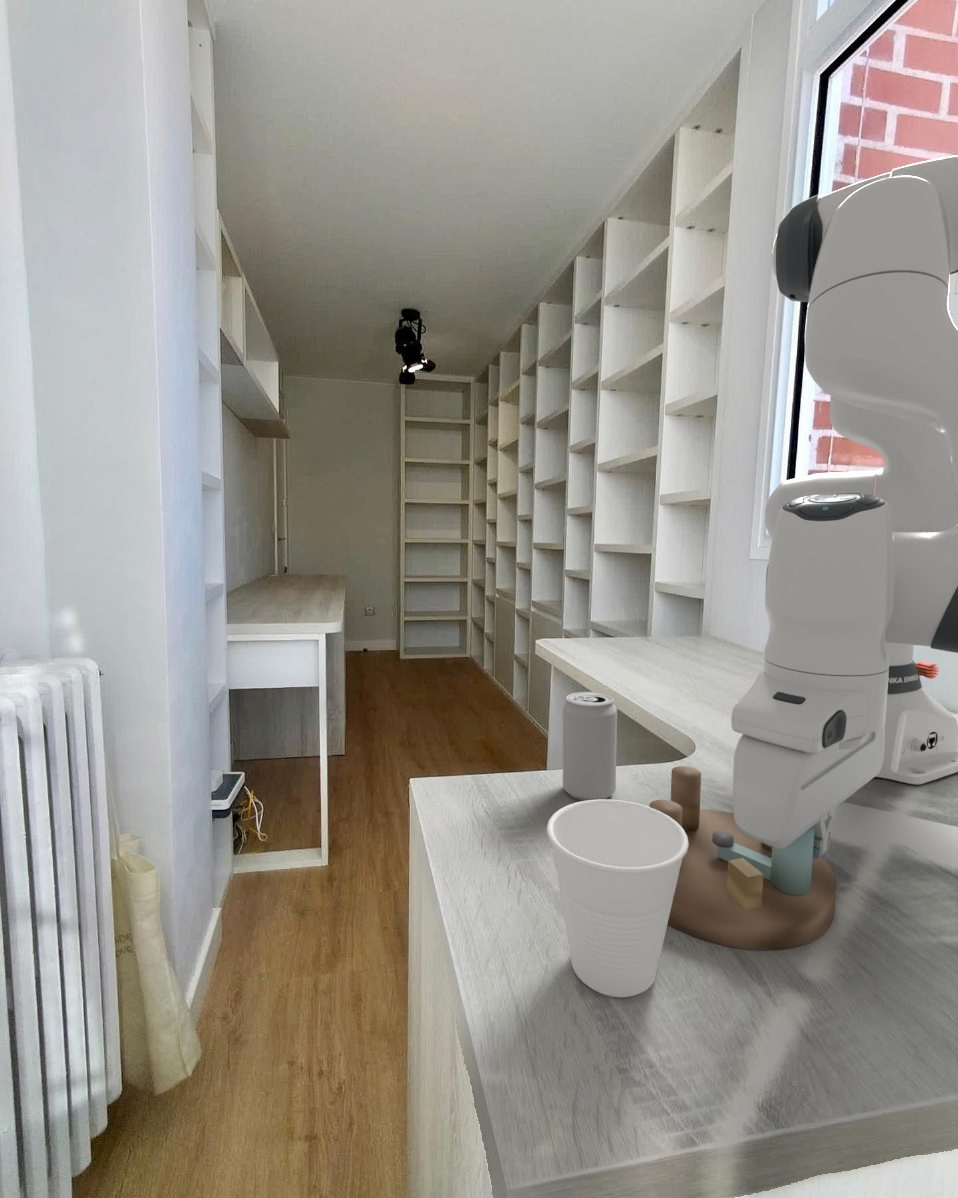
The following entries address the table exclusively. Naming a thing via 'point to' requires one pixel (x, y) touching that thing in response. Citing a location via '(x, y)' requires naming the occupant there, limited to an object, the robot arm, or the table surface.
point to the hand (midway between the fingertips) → (812, 852)
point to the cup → (616, 889)
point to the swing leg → (775, 861)
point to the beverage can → (589, 745)
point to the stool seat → (737, 883)
